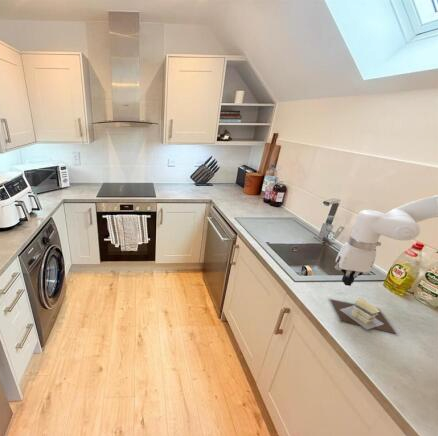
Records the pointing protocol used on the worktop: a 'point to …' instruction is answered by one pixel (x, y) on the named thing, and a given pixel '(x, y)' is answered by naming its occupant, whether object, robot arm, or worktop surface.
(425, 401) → the worktop surface
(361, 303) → the stacked layers on plate
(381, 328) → the spill
